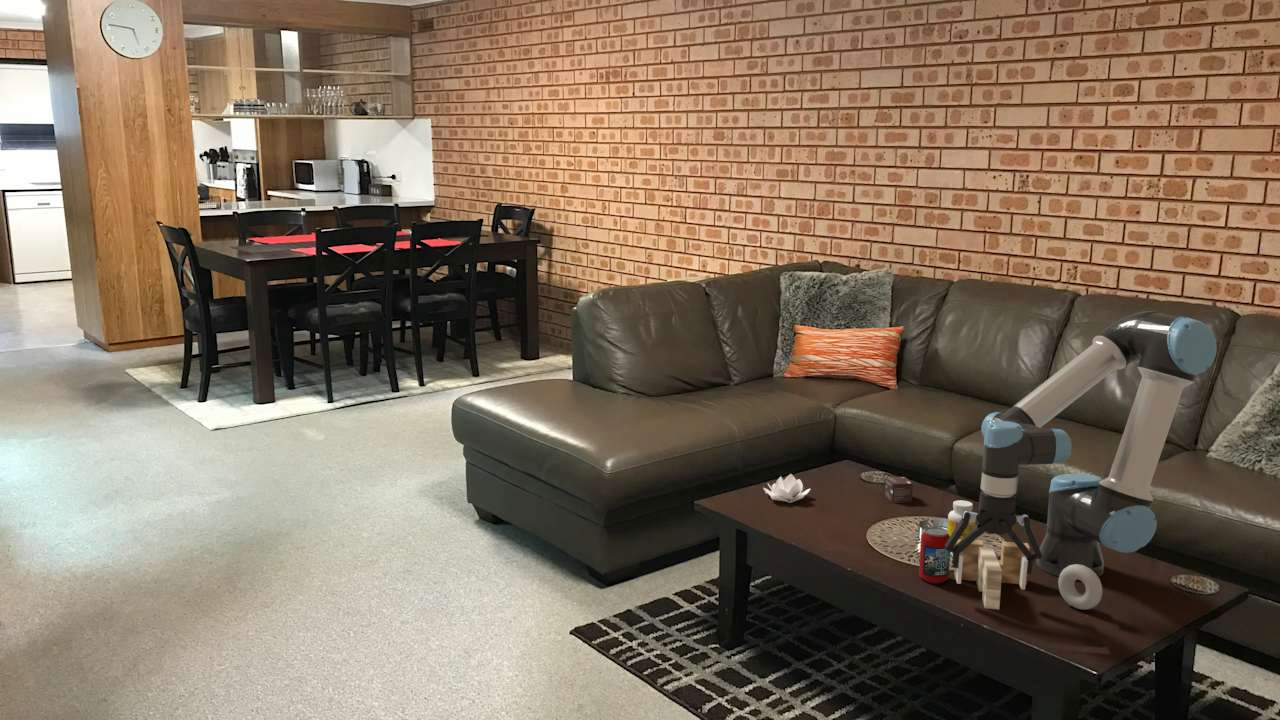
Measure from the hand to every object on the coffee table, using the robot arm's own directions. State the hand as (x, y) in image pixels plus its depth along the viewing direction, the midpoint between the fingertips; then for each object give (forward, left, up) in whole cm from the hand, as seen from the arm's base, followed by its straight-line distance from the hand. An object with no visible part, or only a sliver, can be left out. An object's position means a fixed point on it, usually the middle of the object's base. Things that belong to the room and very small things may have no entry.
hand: (990, 584), depth 232 cm
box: (+16, -67, -5) cm, 69 cm away
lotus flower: (+47, -61, -5) cm, 77 cm away
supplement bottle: (+3, -32, -5) cm, 32 cm away
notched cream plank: (0, -5, -5) cm, 7 cm away
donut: (-19, -2, -5) cm, 20 cm away
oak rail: (-2, -15, -5) cm, 16 cm away
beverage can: (+11, -12, -5) cm, 17 cm away
